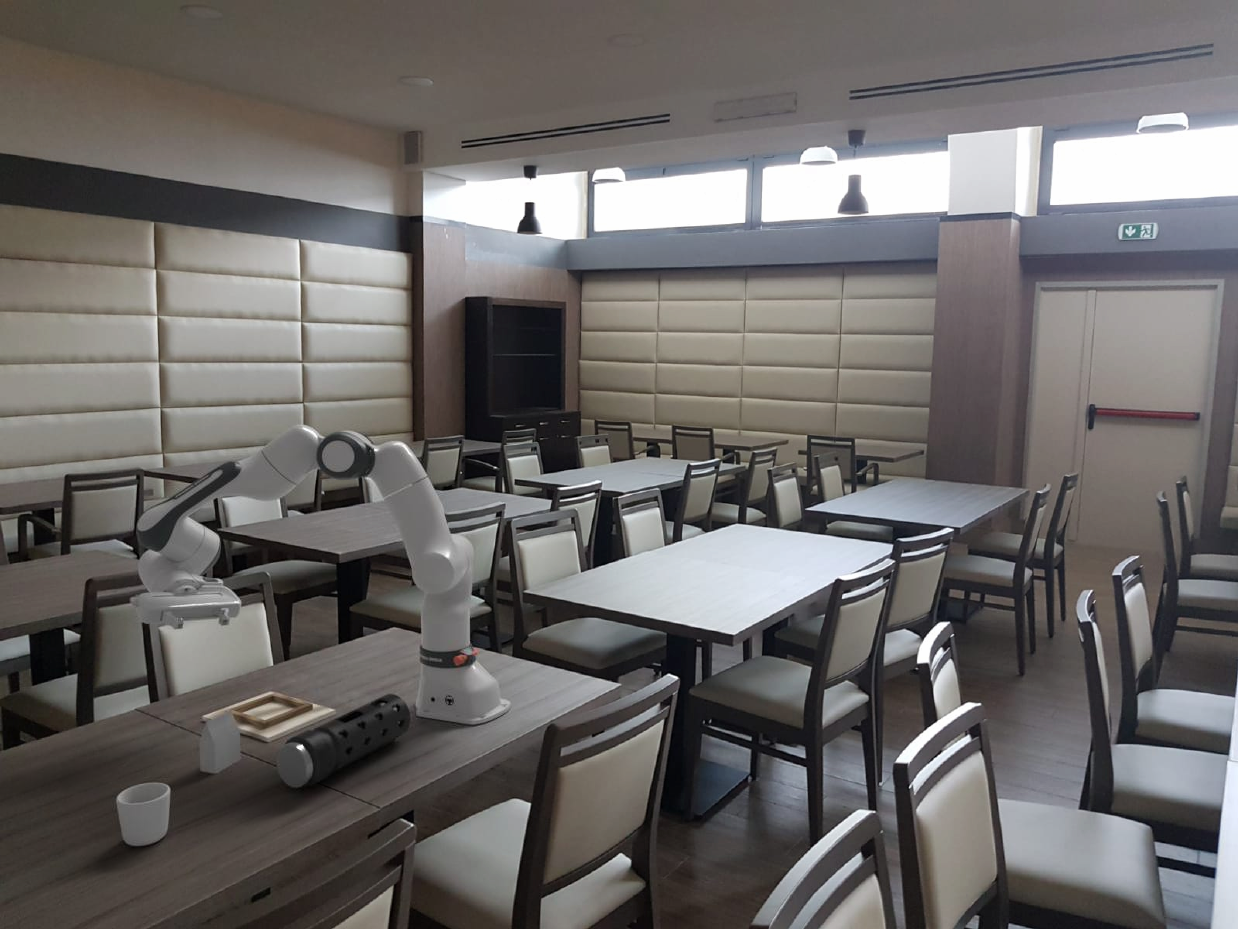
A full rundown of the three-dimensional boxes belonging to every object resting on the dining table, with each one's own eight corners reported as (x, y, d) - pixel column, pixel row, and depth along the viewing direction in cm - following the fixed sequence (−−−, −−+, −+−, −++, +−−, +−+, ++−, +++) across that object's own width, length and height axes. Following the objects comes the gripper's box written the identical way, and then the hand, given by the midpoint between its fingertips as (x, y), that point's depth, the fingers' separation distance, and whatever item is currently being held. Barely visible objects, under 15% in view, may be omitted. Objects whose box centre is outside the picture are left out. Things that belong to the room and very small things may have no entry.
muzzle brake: (412, 744, 190) (411, 696, 189) (311, 801, 165) (309, 746, 164) (377, 735, 194) (376, 688, 193) (273, 789, 169) (271, 736, 168)
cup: (138, 819, 158) (136, 775, 157) (186, 817, 158) (184, 773, 157) (109, 852, 147) (107, 805, 146) (160, 850, 148) (158, 804, 147)
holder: (335, 714, 205) (335, 704, 205) (268, 742, 190) (268, 731, 189) (270, 695, 216) (270, 686, 216) (202, 720, 201) (202, 710, 201)
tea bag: (240, 759, 182) (238, 711, 180) (215, 774, 175) (213, 724, 174) (225, 757, 183) (223, 709, 182) (200, 771, 176) (198, 721, 175)
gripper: (129, 582, 187) (152, 614, 178) (228, 578, 202) (254, 607, 193) (124, 610, 188) (146, 642, 180) (222, 604, 204) (247, 633, 195)
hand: (203, 624), depth 187 cm, fingers open, 8 cm apart
